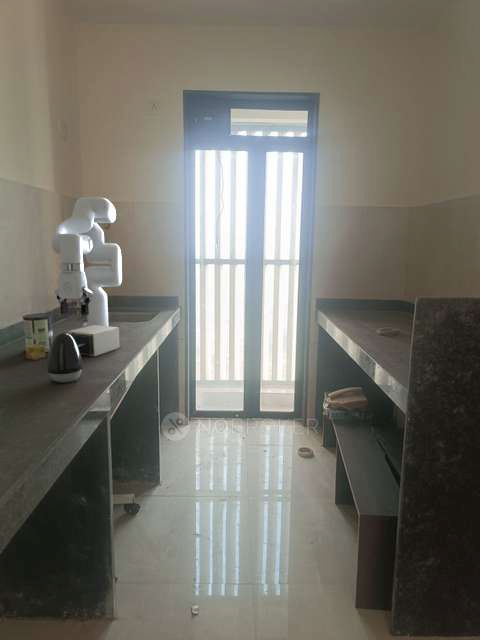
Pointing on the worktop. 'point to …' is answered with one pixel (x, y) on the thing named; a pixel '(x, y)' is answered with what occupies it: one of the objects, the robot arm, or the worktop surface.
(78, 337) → the dark grey storage bin
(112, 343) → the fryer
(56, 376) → the dark grey rounded dome
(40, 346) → the cube
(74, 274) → the robot arm
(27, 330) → the coffee can
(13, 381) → the worktop surface
